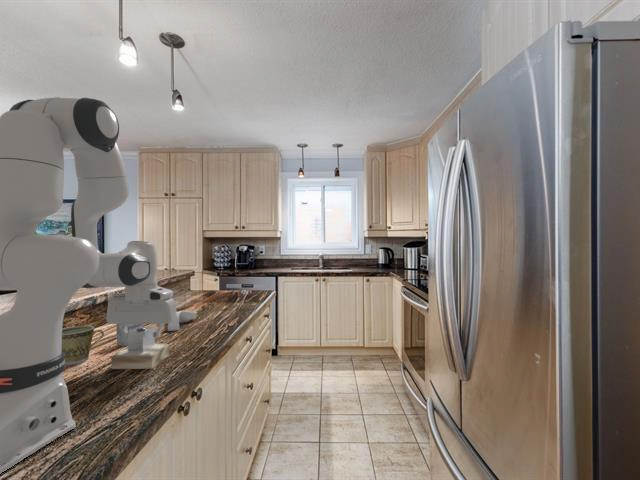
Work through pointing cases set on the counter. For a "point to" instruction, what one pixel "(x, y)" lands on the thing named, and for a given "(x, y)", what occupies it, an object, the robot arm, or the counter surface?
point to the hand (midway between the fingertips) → (141, 337)
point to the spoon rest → (181, 319)
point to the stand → (140, 358)
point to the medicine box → (120, 339)
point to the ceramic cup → (77, 343)
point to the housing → (141, 339)
